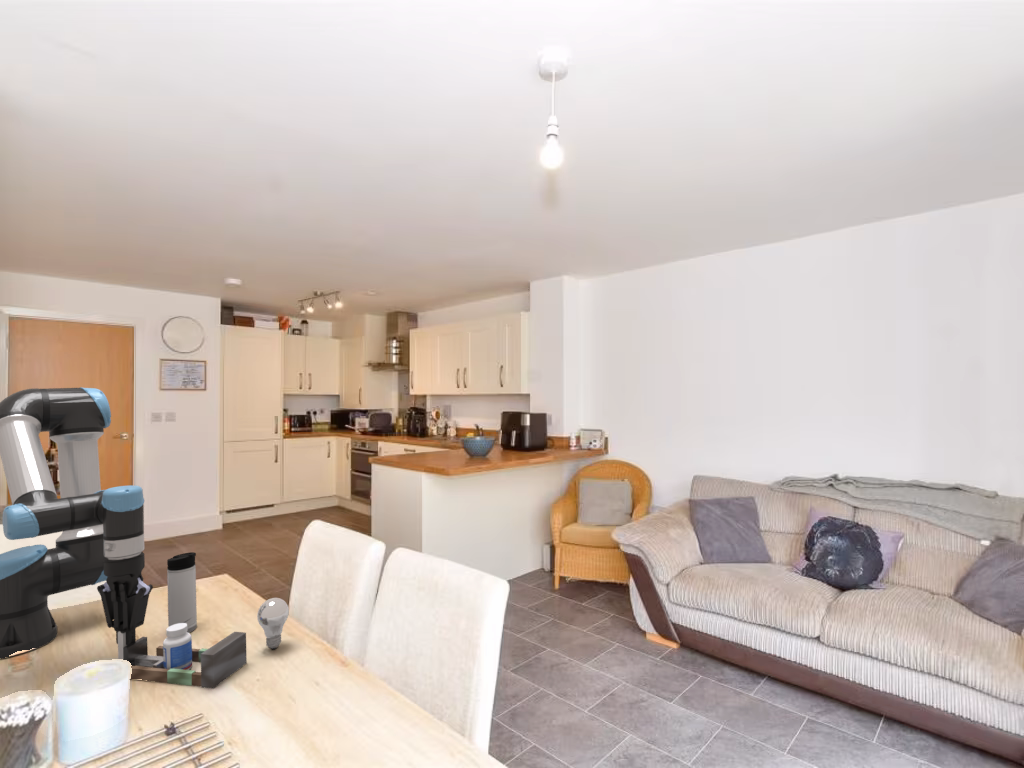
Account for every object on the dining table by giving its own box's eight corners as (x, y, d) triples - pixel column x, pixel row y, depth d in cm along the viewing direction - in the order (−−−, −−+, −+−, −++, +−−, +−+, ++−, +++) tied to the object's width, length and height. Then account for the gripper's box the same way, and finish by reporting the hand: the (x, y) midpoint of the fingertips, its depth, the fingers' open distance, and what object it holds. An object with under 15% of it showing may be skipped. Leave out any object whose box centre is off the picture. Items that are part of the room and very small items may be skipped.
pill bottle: (198, 664, 119) (197, 621, 119) (180, 677, 113) (179, 632, 113) (176, 663, 119) (175, 621, 119) (157, 676, 114) (156, 632, 114)
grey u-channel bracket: (121, 671, 115) (121, 648, 115) (145, 657, 121) (144, 635, 121) (156, 674, 114) (156, 651, 114) (179, 660, 120) (178, 638, 120)
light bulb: (280, 638, 130) (280, 590, 130) (295, 646, 126) (294, 597, 126) (252, 649, 125) (251, 600, 125) (266, 659, 120) (265, 607, 120)
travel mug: (188, 635, 132) (186, 557, 132) (162, 636, 133) (161, 558, 133) (203, 624, 139) (201, 549, 139) (179, 624, 139) (177, 550, 139)
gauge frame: (121, 679, 113) (121, 647, 113) (160, 655, 123) (160, 625, 123) (213, 688, 109) (213, 655, 109) (246, 663, 119) (246, 632, 119)
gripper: (84, 559, 116) (86, 664, 116) (133, 561, 114) (135, 669, 114) (116, 548, 124) (118, 647, 123) (162, 550, 121) (164, 651, 121)
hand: (126, 657), depth 119 cm, fingers closed
